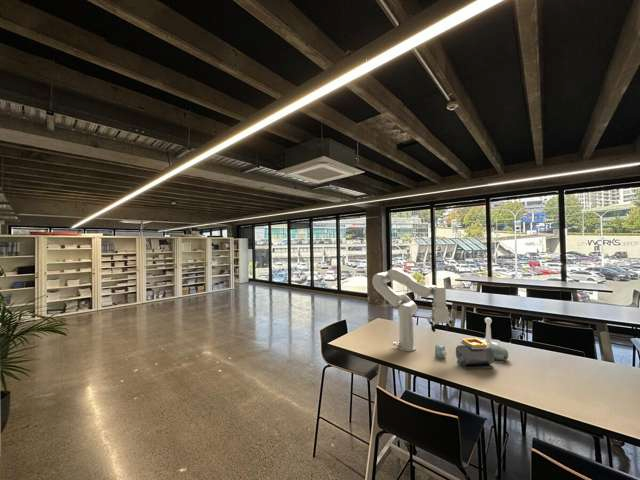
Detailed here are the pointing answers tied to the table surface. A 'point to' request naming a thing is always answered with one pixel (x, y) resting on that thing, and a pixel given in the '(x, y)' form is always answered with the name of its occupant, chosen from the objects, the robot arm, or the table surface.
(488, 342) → the joystick
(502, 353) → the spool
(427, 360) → the table surface
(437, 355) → the pump
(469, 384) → the table surface
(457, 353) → the motor
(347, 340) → the table surface
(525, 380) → the table surface
